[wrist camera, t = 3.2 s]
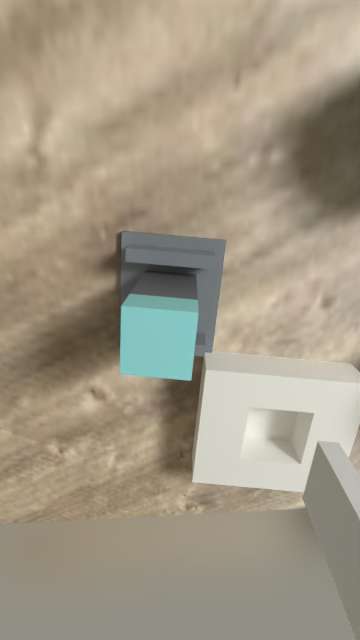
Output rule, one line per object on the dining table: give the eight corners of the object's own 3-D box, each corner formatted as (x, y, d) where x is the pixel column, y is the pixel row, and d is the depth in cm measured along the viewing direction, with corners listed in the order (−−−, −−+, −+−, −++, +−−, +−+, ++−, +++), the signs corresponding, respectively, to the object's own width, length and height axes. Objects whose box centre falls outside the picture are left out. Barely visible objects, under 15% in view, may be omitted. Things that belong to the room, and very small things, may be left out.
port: (192, 452, 41) (192, 482, 36) (204, 349, 36) (206, 369, 32) (321, 464, 40) (336, 495, 36) (350, 363, 36) (372, 384, 31)
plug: (143, 317, 34) (119, 374, 23) (145, 270, 32) (121, 305, 21) (191, 321, 34) (191, 380, 23) (196, 274, 32) (198, 312, 21)
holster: (120, 343, 36) (112, 358, 32) (122, 230, 32) (114, 234, 28) (211, 352, 36) (213, 367, 32) (225, 240, 32) (229, 244, 28)
